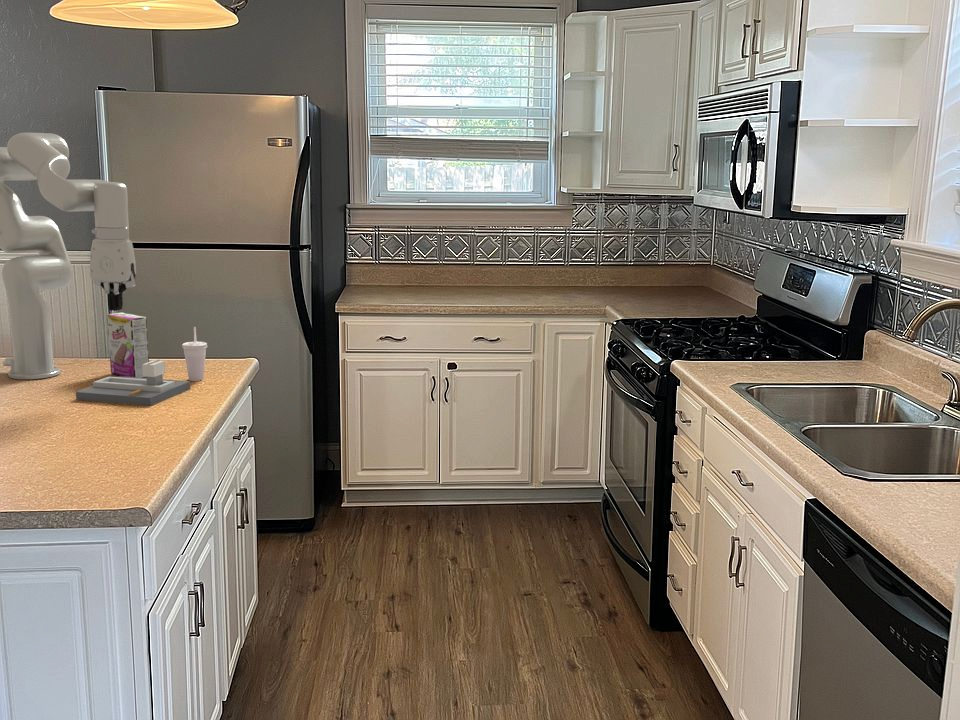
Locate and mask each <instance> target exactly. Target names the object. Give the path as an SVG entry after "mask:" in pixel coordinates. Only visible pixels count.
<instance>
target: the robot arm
mask: <svg viewBox="0 0 960 720" xmlns="http://www.w3.org/2000/svg"><path fill="white" fill-rule="evenodd" d="M69 157H70V149H69V146H68V143H67V142H66V140H65V139H64V138H63V137H61V136H60V135H59V134H56V133H48V132H47V133H46V132H20V133H16V134H14V135H13V136H12V137H10V138H9V140H8V142H7V143H6V146H0V249H1V250H2V251H3V252H4V253H7V254H24V253H25V254H26V253H38V254H35V255H24V256H23V255H22V256H21V255H20V256H15V257H12V258H10V259H8V260H7V261H6V262H5V263H4V264H3V266H2V269H1V276H2V278H1V279H2V281H3V285H4V288H5V293H6V297H7V302H8V303H7V304H8V309H9V320H10V329H11V330H10V331H11V333H10V334H11V344H12V356H13V357H6V358H5V359H4V360H2V361H3V362H2V366H3V367H10V370H9V371H8V373H7V375H8V378H11V379H16V380H38V379H46V378H52V377H55V376H58V375H60V373H61V368H60V367H58V366H55V365H54V352H53V339H52V327H51V325H52V324H51V315H50V314H51V313H50V308H49V307H50V306H48V303H47V302H46V300H45V299H44V298H43V296H42V295H41V294H40V293H41V292H45V291H46V292H48V291H53V290H54V291H55V290H62V289H64V288H67V287H68V286H70V284H71V283H72V280H73V277H74V276H73V267H72V263H71V260H70V256H69V255H68V251H67V248H66V245H65V242H64V239H63V236H62V234H61V231H60V229H59V226H58V224H56V223H55V221H54V220H53V219H52V218H50V217H48V216H45V215H27V214H26V212H25V211H24V209H23V204H22V202H21V199H20V198H19V196H18V195H17V194H16V192H14V190H13V189H12V188H11V187H9V186H8V185H7V184H6V183H4V182H5V181H35V180H37V186H38V189H39V193H40V194H41V196H42V197H43V199H45V200H46V201H47V202H48V203H50V204H51V205H52V206H54V207H55V208H57V209H59V210H60V211H63V212H69V213H70V212H71V213H73V212H94V228H91V233H92V234H93V235H94V236H95V239H92V241H91V242H92V243H91V246H90V252H89V253H90V255H89V277H90V279H91V280H92V281H93V284H94V285H96V286H99V287H101V288H102V289H103V291H104V293H105V294H106V295H107V306H108V311H113V312H117V311H120V310H123V305H124V303H123V301H124V300H123V299H124V298H123V294H125V291H126V290H127V289H129V288H130V289H131V288H135V287H136V286H137V285H136V281H135V280H136V279H137V262H136V257H135V251H134V244H133V242H132V240H130V231H129V230H130V226H129V225H130V223H129V199H128V197H129V196H128V188H127V185H126V184H124V183H123V182H117V181H107V180H104V179H85V178H83V179H67V177H68V176H69V175H70V171H71V163H70V160H69Z"/></svg>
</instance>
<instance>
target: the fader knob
mask: <svg viewBox="0 0 960 720" xmlns="http://www.w3.org/2000/svg"><path fill="white" fill-rule="evenodd" d="M142 365H143V376H145V377H146V378H147V385H155V386H159V385H162V384H163V375H164V374H166V361H165V360H160V359H157V360H155V359H154V360H151V361H150V360H149V362H148V363H145V364H142Z"/></svg>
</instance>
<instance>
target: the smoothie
mask: <svg viewBox="0 0 960 720" xmlns="http://www.w3.org/2000/svg"><path fill="white" fill-rule="evenodd" d="M181 346H182V347H181V348H182V349H183V353H184V359H185V360H184V361H185V364H186V365H185V366H186V370H187V378H188V380H189V381H190V382H200V380H201V381H203V380H204V377H205V365H206V363H205V362H206V355H207V354H206V352H207V348H208V342H205V341H197V327H196V326H193V341H188V342H187V341H186V342H184V343H182V344H181Z"/></svg>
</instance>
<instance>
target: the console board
mask: <svg viewBox="0 0 960 720" xmlns="http://www.w3.org/2000/svg"><path fill="white" fill-rule="evenodd" d="M92 383H93V385H91V386H89V387H85V388H82V389H80V390H77V391H75V399H76V401H83V400H84V401H85V402H97V403H107V404H108V403H109V404H110V403H111V404H119V403H121V404H122V405H131V404H134V405H133V406H143V405H144V407H152V406H155V405H157V404H159V403H161V402H164V401H166V400H169V399H171V398H172V397H175V396H177V395H180V394H182V393H184V392H186V391H189V390H191V381H190V380H189V381H188V380H179V379H163V384H162V385H159V386H155V385H147V378H139V377H126V376H119V375H118V376H107V377H106V376H105V377H103V378H101V379H98V380H96V381H93V382H92ZM121 404H120V405H121Z"/></svg>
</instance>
